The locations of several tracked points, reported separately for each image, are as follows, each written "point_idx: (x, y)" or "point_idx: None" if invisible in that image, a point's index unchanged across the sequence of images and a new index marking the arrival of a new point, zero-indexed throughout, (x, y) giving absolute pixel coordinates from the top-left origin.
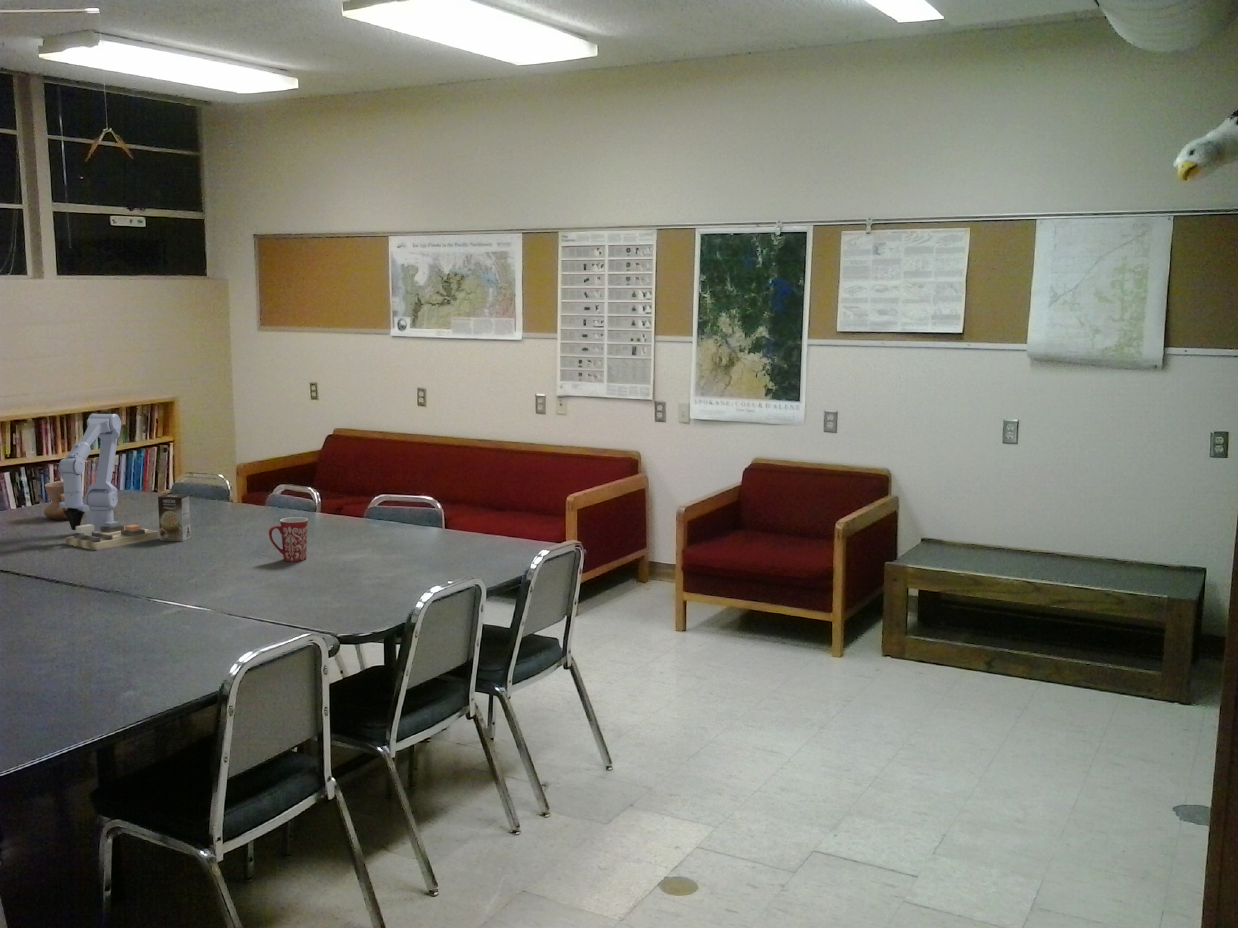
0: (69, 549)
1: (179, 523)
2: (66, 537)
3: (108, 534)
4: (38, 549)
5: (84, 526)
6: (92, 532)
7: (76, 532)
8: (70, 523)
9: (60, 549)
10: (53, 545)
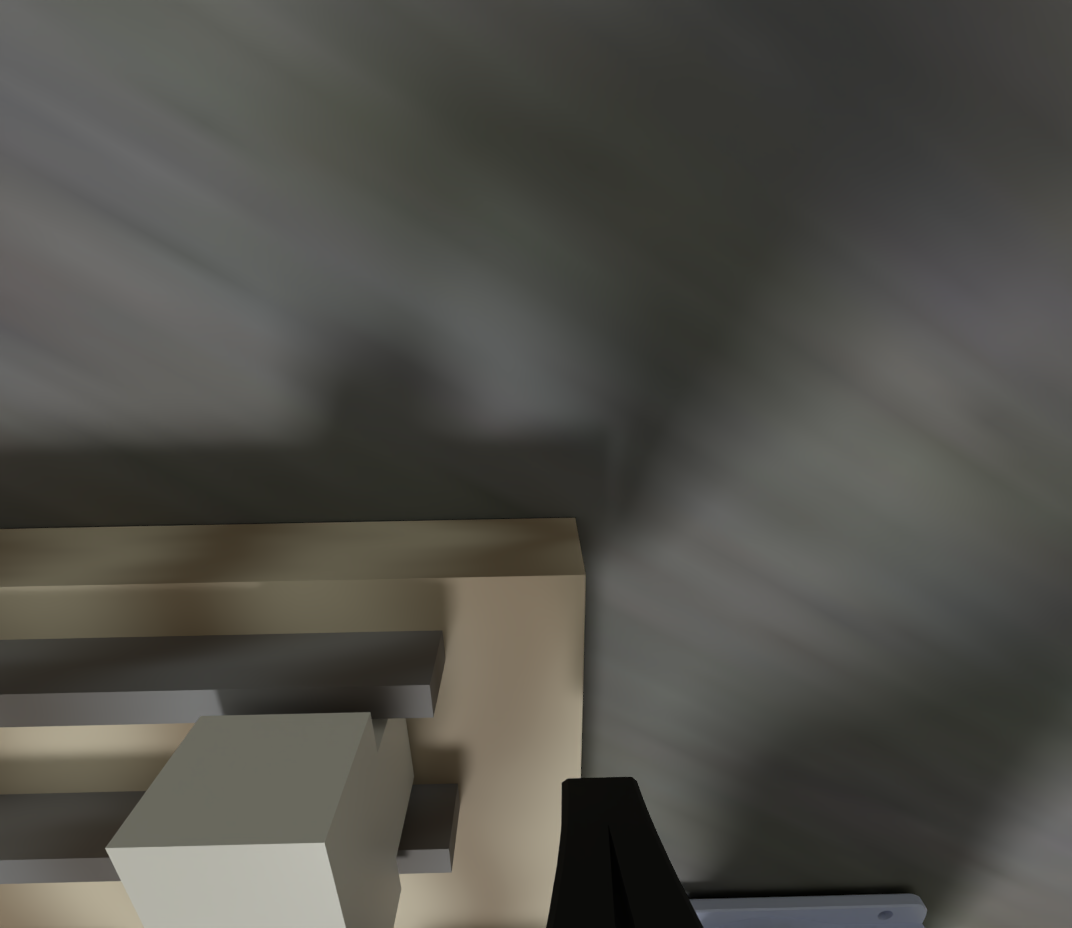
0: (188, 358)
1: None
2: (565, 577)
3: None
4: (606, 30)
5: (166, 918)
6: None
7: (351, 714)
8: (656, 910)
9: (293, 276)
10: (669, 381)
